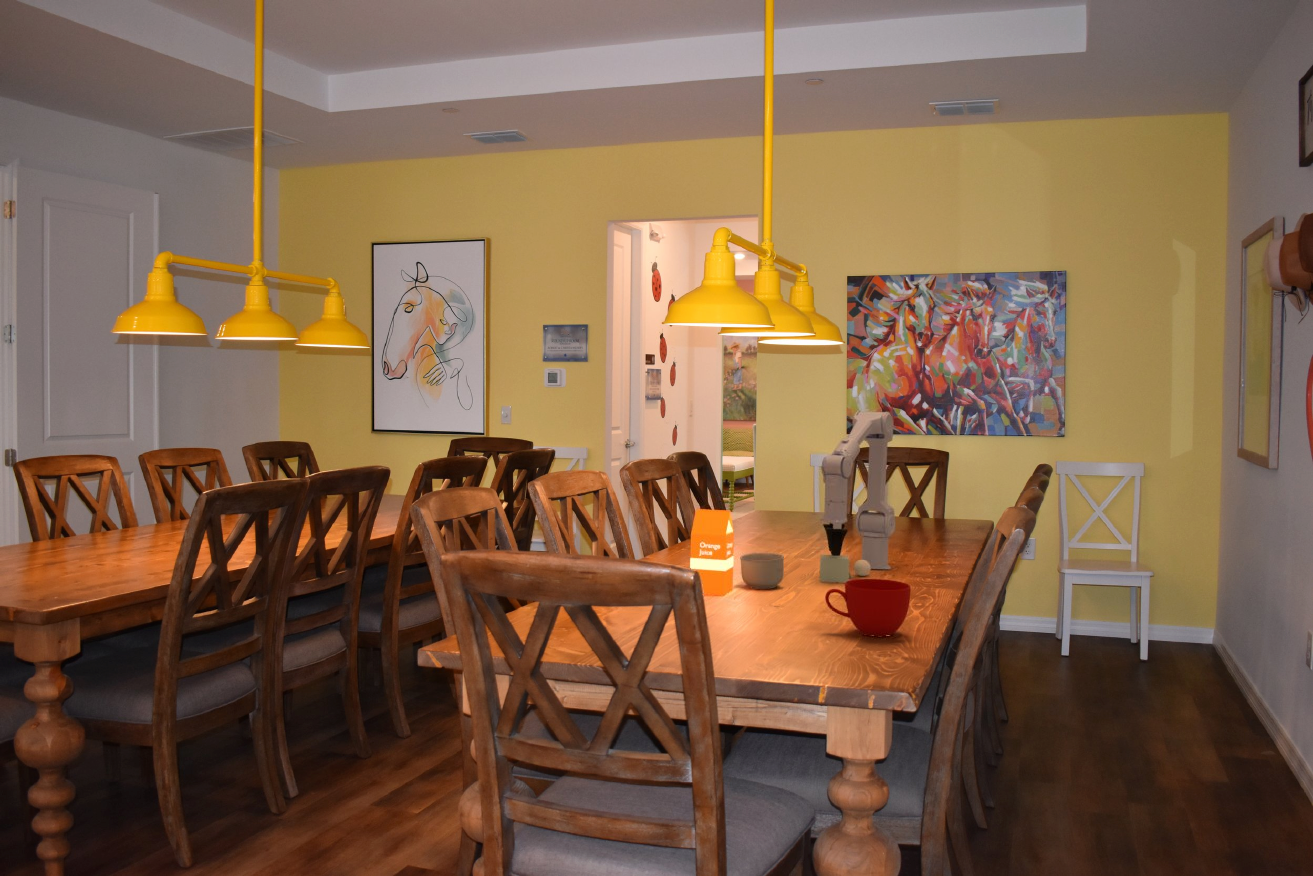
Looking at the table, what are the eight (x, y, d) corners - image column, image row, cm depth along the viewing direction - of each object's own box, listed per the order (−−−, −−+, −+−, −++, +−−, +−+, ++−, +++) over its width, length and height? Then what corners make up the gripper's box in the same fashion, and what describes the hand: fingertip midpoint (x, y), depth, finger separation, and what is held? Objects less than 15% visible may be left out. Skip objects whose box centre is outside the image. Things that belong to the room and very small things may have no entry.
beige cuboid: (846, 578, 271) (847, 555, 270) (848, 582, 265) (849, 558, 265) (819, 578, 271) (820, 554, 271) (821, 582, 265) (821, 558, 265)
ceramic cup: (820, 625, 215) (821, 577, 215) (902, 627, 214) (903, 579, 214) (828, 640, 202) (830, 589, 202) (915, 641, 201) (917, 591, 201)
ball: (852, 574, 278) (853, 558, 278) (869, 575, 277) (869, 558, 277) (854, 577, 273) (854, 560, 273) (871, 577, 273) (871, 561, 273)
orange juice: (724, 596, 245) (726, 512, 244) (689, 593, 248) (690, 510, 247) (733, 590, 252) (734, 509, 252) (698, 587, 255) (699, 507, 254)
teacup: (785, 591, 252) (786, 559, 252) (741, 590, 252) (741, 558, 252) (779, 581, 266) (780, 550, 265) (737, 580, 266) (738, 549, 266)
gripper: (818, 498, 275) (817, 548, 275) (822, 503, 260) (820, 557, 261) (845, 498, 274) (844, 549, 275) (850, 504, 260) (848, 557, 260)
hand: (834, 553), depth 268 cm, fingers open, 7 cm apart
